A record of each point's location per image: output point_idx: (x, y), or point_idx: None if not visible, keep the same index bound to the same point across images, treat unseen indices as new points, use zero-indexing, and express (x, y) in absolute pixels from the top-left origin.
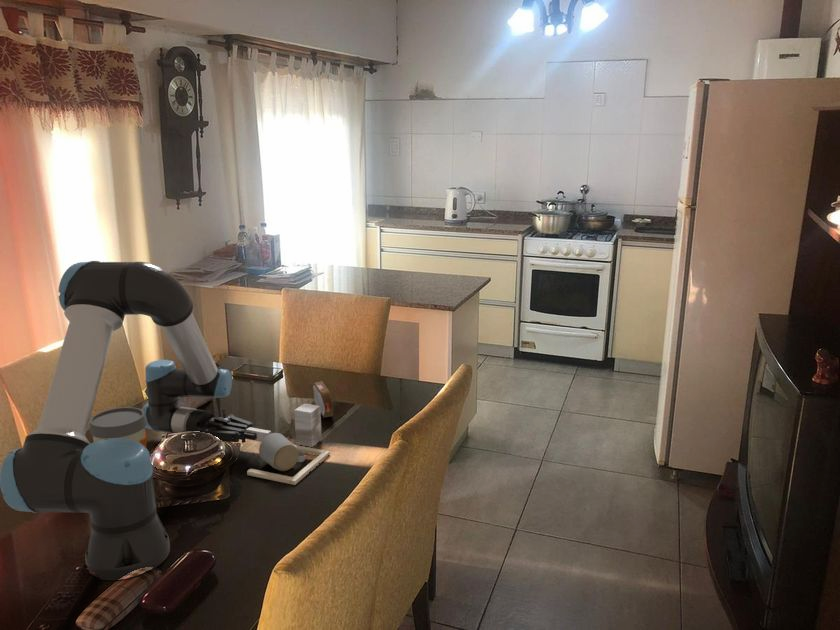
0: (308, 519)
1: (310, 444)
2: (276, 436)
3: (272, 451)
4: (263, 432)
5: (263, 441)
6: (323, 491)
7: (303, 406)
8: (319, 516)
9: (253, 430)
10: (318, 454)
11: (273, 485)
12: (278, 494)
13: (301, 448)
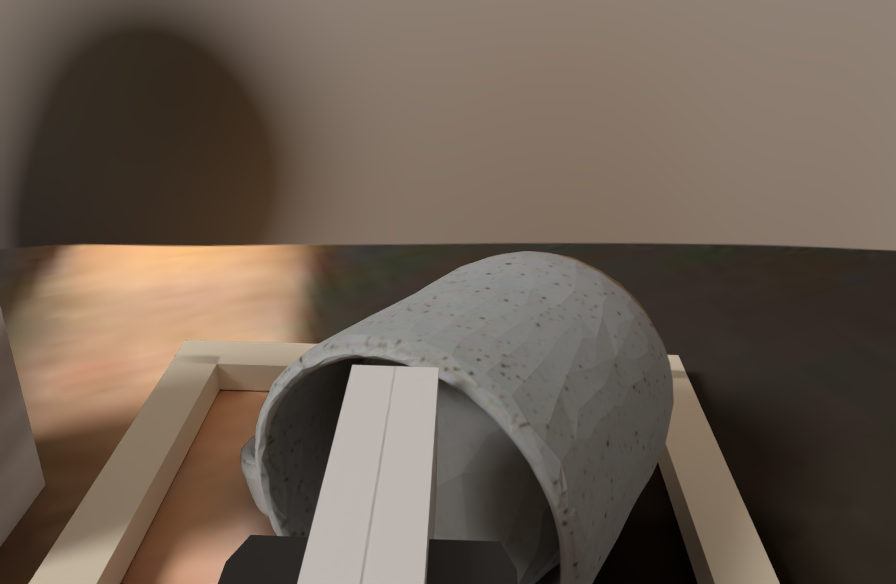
0: (876, 265)
1: (30, 471)
2: (456, 308)
3: (648, 350)
4: (434, 409)
5: (557, 429)
6: (636, 285)
7: None
8: (821, 250)
9: (414, 556)
10: (209, 399)
11: (776, 468)
12: (836, 406)
13: (138, 489)
